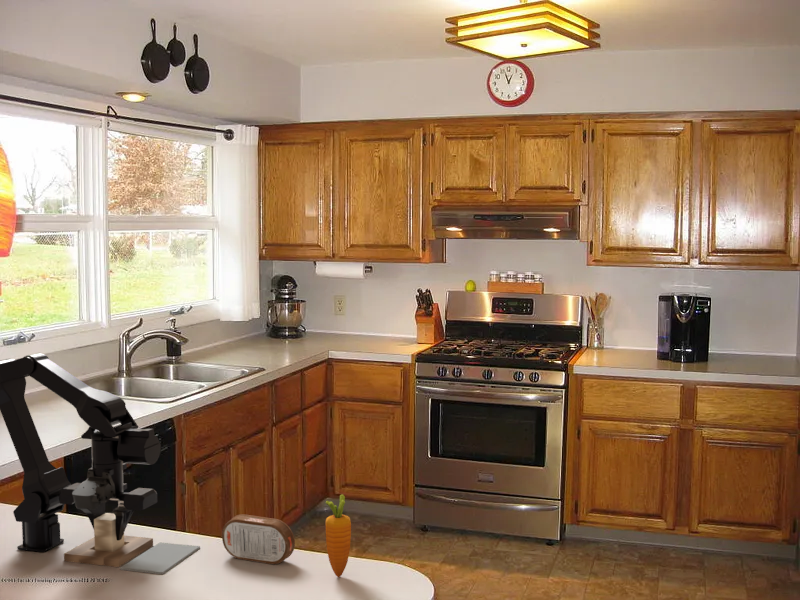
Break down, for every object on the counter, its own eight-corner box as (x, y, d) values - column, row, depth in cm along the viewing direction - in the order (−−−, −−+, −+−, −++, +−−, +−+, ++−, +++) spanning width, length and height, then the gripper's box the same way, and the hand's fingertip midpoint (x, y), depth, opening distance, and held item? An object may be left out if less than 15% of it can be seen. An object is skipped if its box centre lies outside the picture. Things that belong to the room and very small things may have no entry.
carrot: (331, 584, 152) (330, 502, 151) (320, 574, 156) (320, 494, 155) (356, 579, 154) (356, 498, 153) (345, 569, 158) (344, 491, 157)
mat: (120, 569, 159) (120, 567, 159) (160, 544, 172) (160, 542, 172) (162, 574, 157) (162, 572, 157) (199, 548, 170) (199, 546, 170)
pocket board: (64, 561, 163) (63, 553, 163) (101, 540, 175) (101, 533, 175) (118, 567, 160) (118, 559, 160) (153, 545, 172) (152, 538, 172)
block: (94, 554, 166) (93, 519, 166) (107, 547, 170) (106, 512, 170) (112, 556, 165) (111, 520, 165) (124, 548, 169) (123, 514, 168)
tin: (296, 562, 162) (295, 519, 162) (288, 568, 159) (287, 524, 159) (228, 552, 168) (227, 511, 167) (219, 558, 165) (219, 515, 164)
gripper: (39, 468, 161) (41, 548, 162) (125, 475, 156) (127, 557, 157) (76, 454, 172) (78, 529, 173) (158, 460, 167) (159, 537, 168)
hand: (109, 538), depth 167 cm, fingers closed on block, 4 cm apart
